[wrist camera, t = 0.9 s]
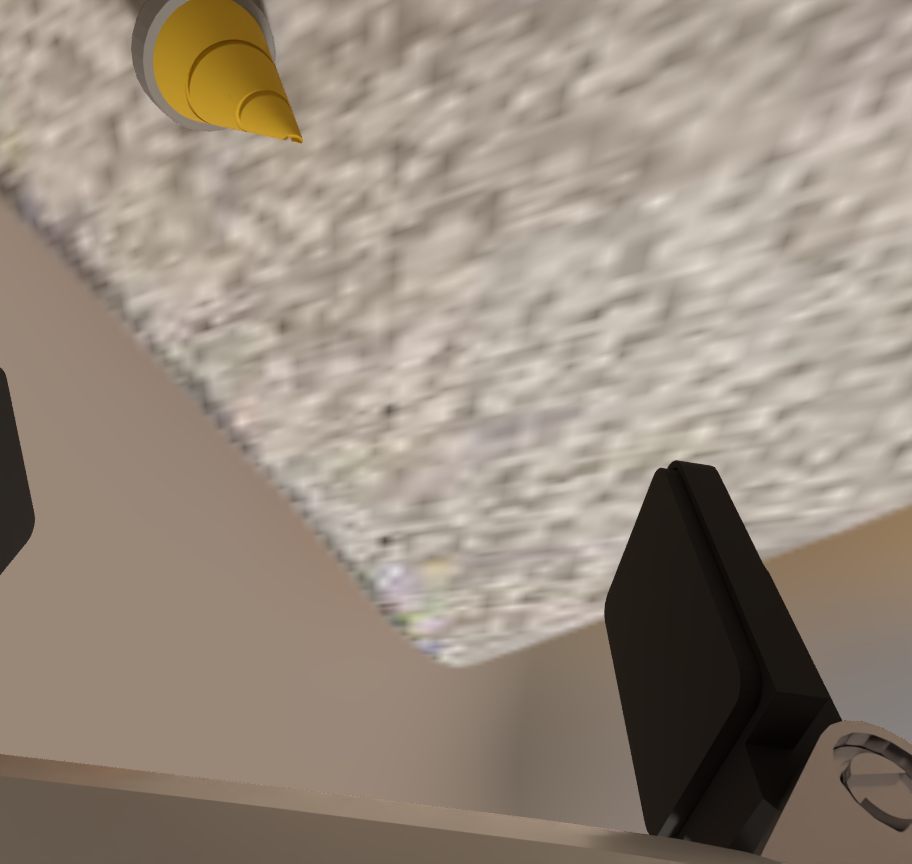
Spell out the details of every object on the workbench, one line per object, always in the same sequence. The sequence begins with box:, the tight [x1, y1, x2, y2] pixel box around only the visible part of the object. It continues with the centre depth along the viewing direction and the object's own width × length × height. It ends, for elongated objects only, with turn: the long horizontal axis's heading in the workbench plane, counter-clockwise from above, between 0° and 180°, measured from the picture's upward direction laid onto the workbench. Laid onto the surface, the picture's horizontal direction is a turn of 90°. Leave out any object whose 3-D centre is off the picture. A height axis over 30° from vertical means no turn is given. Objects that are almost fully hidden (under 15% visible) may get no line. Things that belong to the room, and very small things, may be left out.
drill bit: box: [131, 0, 303, 143], centre depth 26 cm, size 5×5×10 cm
